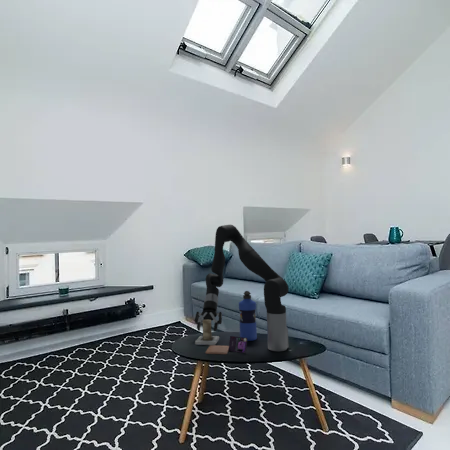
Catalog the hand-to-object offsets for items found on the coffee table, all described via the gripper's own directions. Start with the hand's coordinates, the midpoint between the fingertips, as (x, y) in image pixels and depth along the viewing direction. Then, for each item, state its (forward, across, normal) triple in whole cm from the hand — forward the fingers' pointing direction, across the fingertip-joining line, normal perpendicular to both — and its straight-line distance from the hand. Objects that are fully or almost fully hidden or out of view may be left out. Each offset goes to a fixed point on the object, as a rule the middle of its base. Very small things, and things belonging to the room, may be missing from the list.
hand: (206, 330), depth 173 cm
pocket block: (+4, 0, +5) cm, 6 cm away
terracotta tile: (+13, +8, -4) cm, 16 cm away
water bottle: (-2, +21, +11) cm, 23 cm away
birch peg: (+4, 0, +5) cm, 6 cm away
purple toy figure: (+12, +18, -3) cm, 22 cm away
